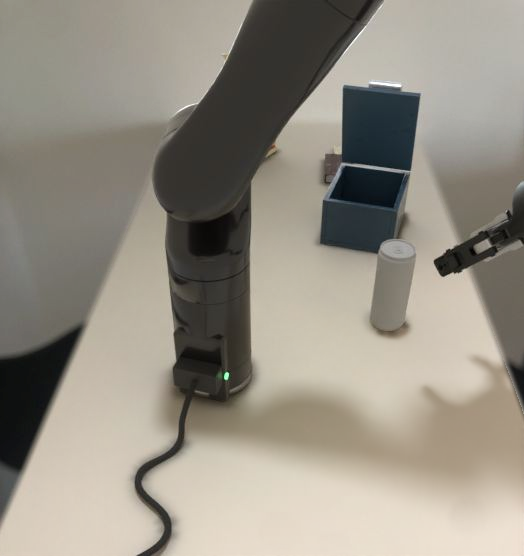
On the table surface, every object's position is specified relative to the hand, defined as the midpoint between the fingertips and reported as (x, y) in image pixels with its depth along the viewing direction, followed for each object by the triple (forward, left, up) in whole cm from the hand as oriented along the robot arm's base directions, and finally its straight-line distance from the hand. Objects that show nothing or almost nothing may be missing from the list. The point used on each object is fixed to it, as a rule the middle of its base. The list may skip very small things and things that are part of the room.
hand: (464, 254), depth 77 cm
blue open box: (+30, +16, -16) cm, 38 cm away
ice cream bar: (+51, +25, -17) cm, 59 cm away
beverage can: (+6, +8, -17) cm, 19 cm away
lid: (+34, +16, -1) cm, 38 cm away
